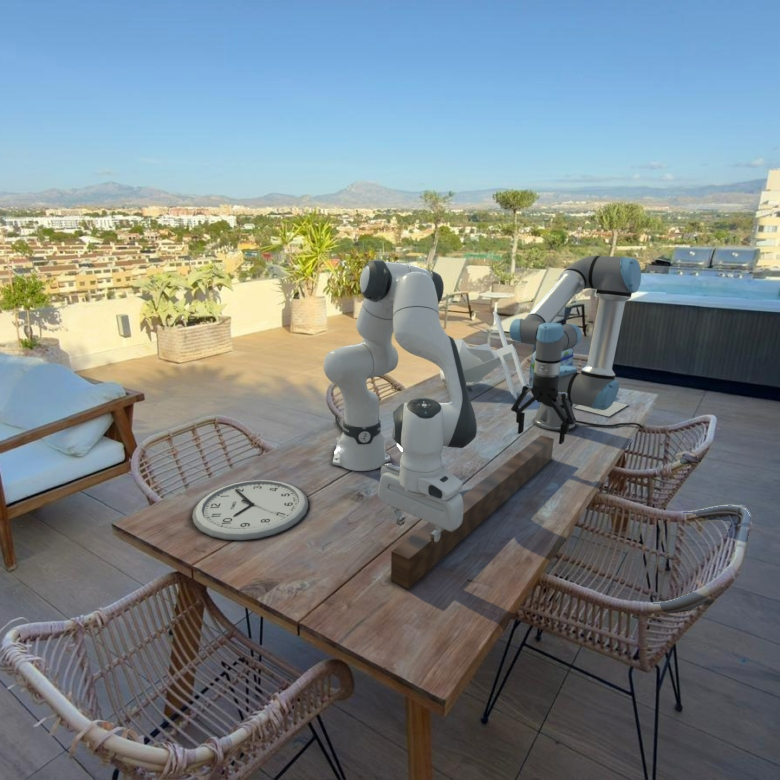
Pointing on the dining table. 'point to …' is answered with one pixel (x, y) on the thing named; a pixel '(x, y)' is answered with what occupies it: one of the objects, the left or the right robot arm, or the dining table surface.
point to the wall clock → (250, 510)
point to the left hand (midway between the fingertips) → (417, 531)
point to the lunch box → (565, 361)
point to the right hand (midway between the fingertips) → (540, 437)
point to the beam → (468, 513)
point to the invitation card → (608, 412)
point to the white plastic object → (488, 360)
